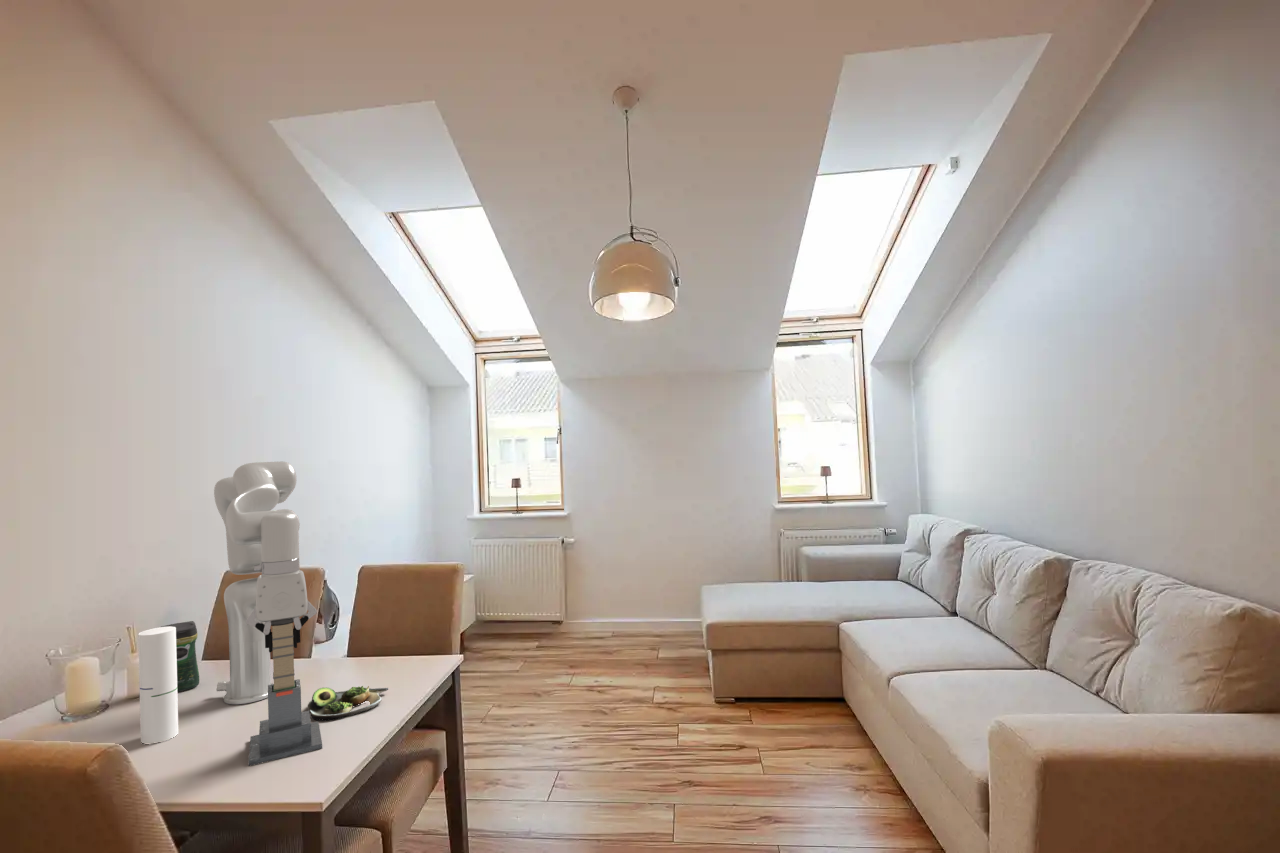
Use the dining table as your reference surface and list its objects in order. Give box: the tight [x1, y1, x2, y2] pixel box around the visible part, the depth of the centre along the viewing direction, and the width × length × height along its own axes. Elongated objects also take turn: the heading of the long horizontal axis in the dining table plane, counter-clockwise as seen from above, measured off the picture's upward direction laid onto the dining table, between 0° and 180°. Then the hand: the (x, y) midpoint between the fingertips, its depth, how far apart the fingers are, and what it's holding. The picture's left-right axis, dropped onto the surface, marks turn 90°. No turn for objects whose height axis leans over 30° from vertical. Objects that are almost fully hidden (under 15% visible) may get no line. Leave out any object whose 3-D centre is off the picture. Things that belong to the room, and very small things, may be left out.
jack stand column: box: [271, 618, 295, 692], centre depth 147 cm, size 5×5×22 cm
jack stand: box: [248, 679, 323, 767], centre depth 147 cm, size 14×14×13 cm
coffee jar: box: [160, 620, 200, 693], centre depth 185 cm, size 10×8×19 cm
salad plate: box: [307, 685, 389, 722], centre depth 169 cm, size 19×18×5 cm
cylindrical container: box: [137, 626, 179, 744], centre depth 153 cm, size 7×7×25 cm
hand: (283, 647), depth 147 cm, fingers closed on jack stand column, 4 cm apart
